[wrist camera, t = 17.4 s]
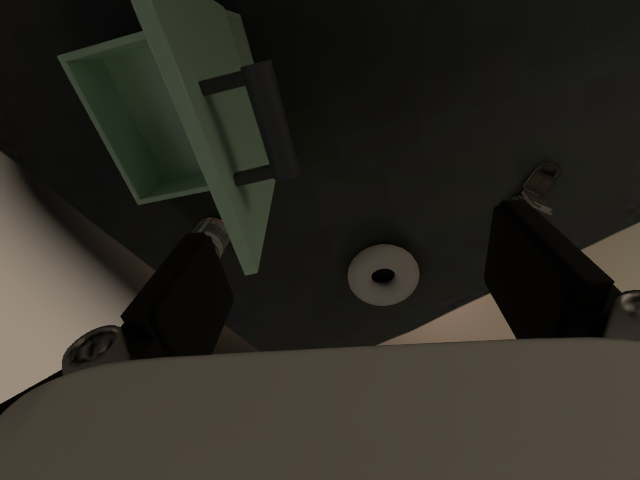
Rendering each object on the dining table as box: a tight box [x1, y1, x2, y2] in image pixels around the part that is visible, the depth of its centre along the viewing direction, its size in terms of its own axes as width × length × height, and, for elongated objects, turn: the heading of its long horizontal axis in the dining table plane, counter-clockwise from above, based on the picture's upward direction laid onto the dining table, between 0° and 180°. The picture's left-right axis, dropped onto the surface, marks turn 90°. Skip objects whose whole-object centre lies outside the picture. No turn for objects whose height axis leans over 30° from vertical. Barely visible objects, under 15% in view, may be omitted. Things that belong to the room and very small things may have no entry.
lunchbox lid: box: [131, 0, 300, 275], centre depth 23 cm, size 17×15×5 cm
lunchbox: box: [57, 10, 254, 205], centre depth 35 cm, size 16×15×6 cm
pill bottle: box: [191, 217, 230, 258], centre depth 42 cm, size 5×5×8 cm
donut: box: [348, 244, 419, 306], centre depth 46 cm, size 10×4×10 cm
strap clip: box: [511, 162, 562, 215], centre depth 39 cm, size 8×3×4 cm, turn 157°
